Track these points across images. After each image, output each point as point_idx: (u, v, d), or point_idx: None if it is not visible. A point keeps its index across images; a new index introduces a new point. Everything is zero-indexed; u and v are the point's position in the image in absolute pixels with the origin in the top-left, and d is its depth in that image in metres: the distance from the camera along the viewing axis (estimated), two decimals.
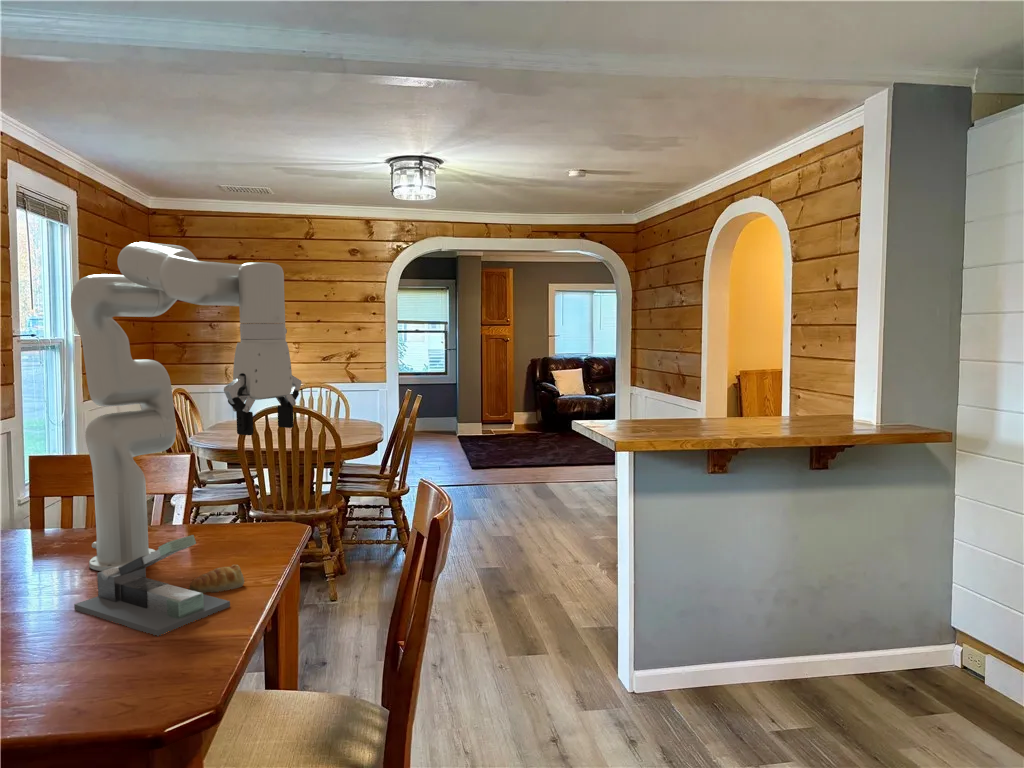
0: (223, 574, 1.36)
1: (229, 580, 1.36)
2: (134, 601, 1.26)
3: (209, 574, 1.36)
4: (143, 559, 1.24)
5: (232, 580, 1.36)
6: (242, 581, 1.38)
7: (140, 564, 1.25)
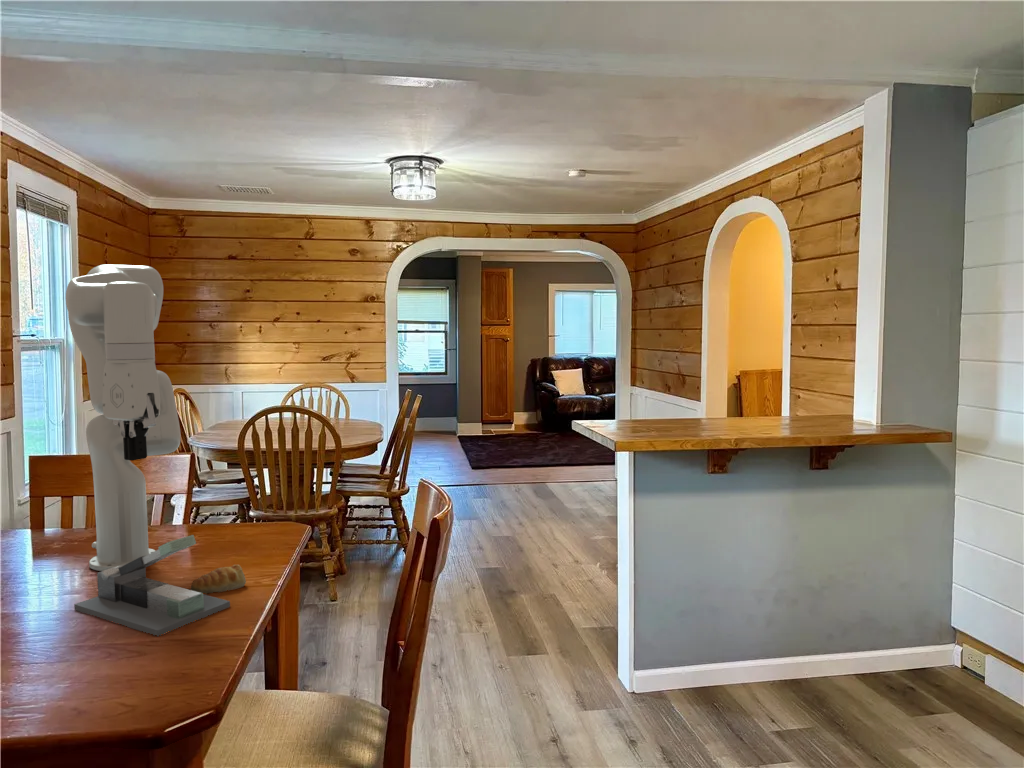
0: (225, 574, 1.36)
1: (230, 580, 1.36)
2: (134, 601, 1.26)
3: (210, 574, 1.36)
4: (143, 559, 1.24)
5: (234, 580, 1.36)
6: (244, 580, 1.38)
7: (140, 564, 1.25)
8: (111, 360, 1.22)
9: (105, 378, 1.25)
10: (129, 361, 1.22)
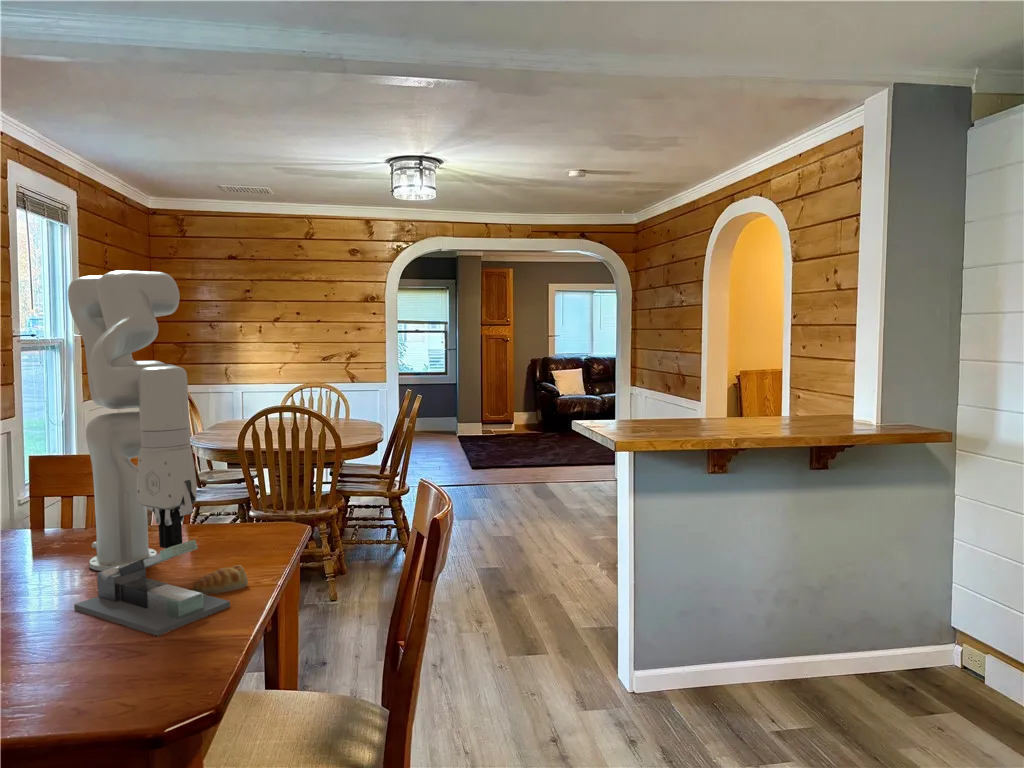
0: (227, 575, 1.36)
1: (233, 580, 1.36)
2: (134, 601, 1.26)
3: (213, 575, 1.36)
4: (144, 562, 1.24)
5: (236, 580, 1.36)
6: (246, 581, 1.37)
7: (141, 566, 1.25)
8: (147, 448, 1.19)
9: (140, 464, 1.22)
10: (166, 449, 1.19)
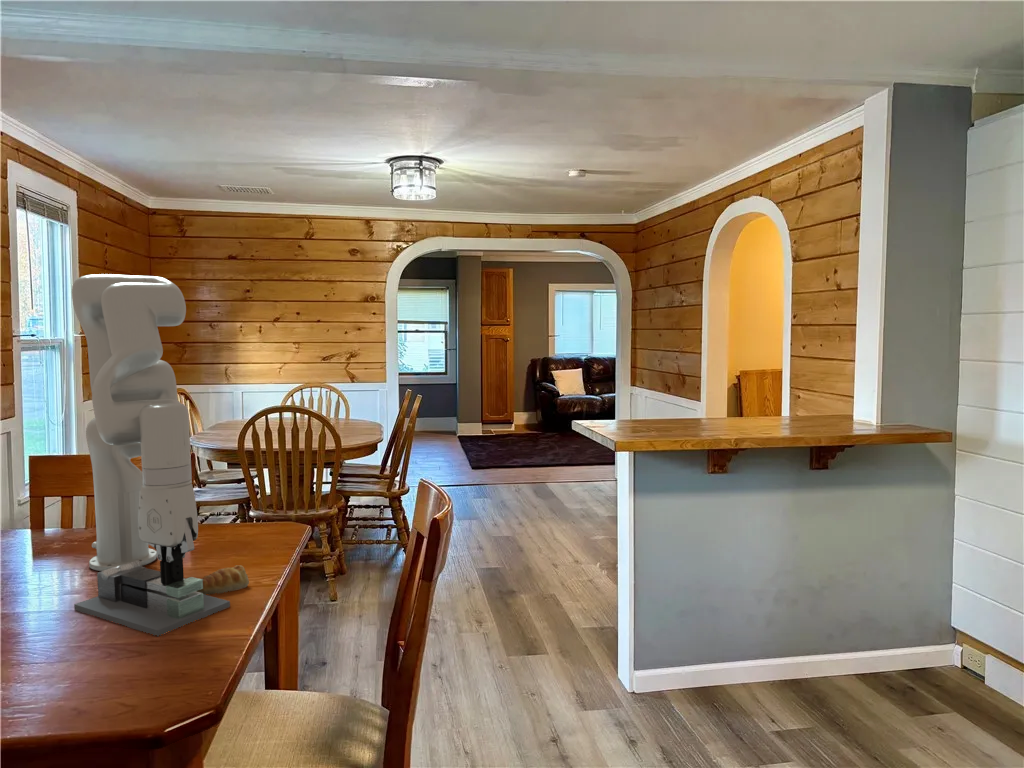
0: (228, 575, 1.36)
1: (234, 580, 1.36)
2: (134, 601, 1.26)
3: (214, 575, 1.36)
4: (147, 584, 1.24)
5: (237, 581, 1.36)
6: (247, 581, 1.37)
7: (143, 586, 1.25)
8: (149, 486, 1.19)
9: (141, 501, 1.22)
10: (167, 486, 1.19)
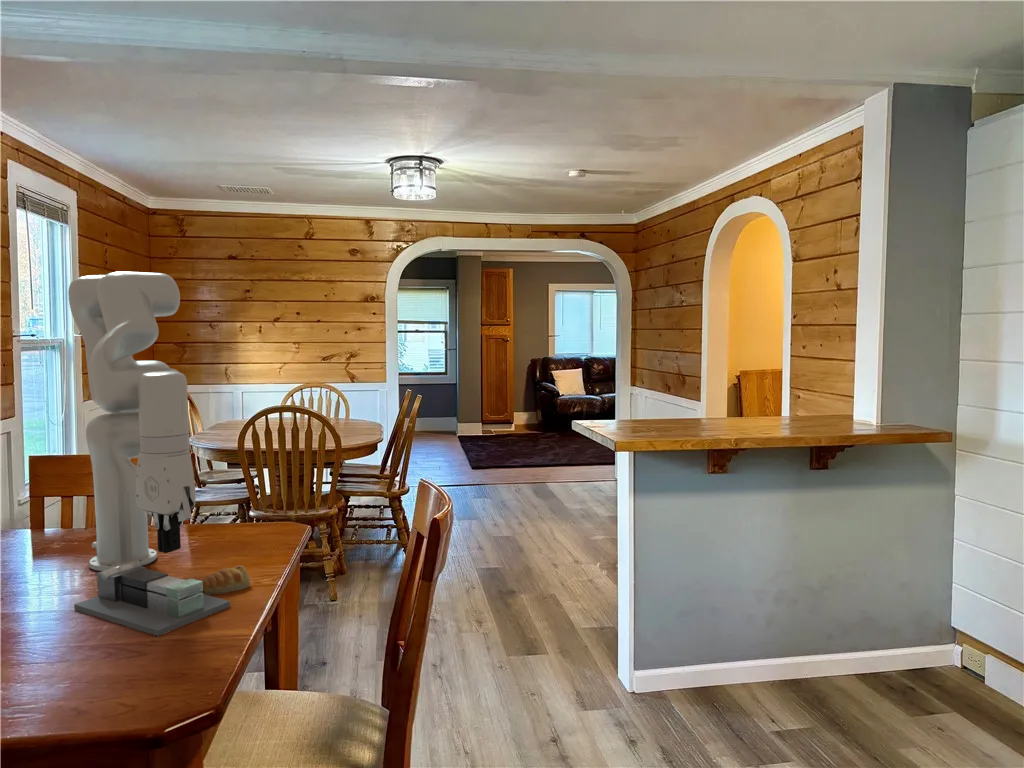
0: (230, 575, 1.36)
1: (235, 581, 1.36)
2: (134, 601, 1.26)
3: (215, 575, 1.36)
4: (147, 585, 1.24)
5: (239, 581, 1.36)
6: (249, 581, 1.37)
7: (143, 587, 1.25)
8: (146, 454, 1.19)
9: (139, 469, 1.22)
10: (165, 455, 1.19)
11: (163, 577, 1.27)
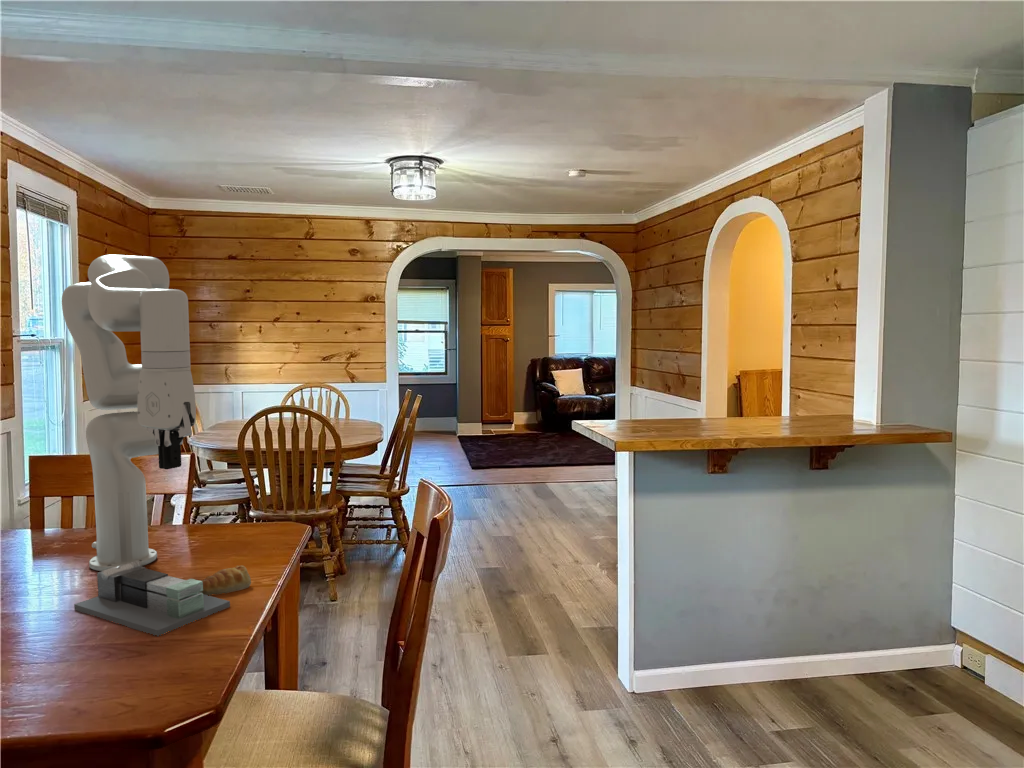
0: (231, 575, 1.36)
1: (236, 580, 1.36)
2: (134, 601, 1.26)
3: (216, 576, 1.35)
4: (147, 585, 1.24)
5: (240, 581, 1.36)
6: (250, 581, 1.37)
7: (143, 587, 1.25)
8: (147, 368, 1.20)
9: (140, 386, 1.23)
10: (166, 370, 1.20)
11: (163, 577, 1.27)
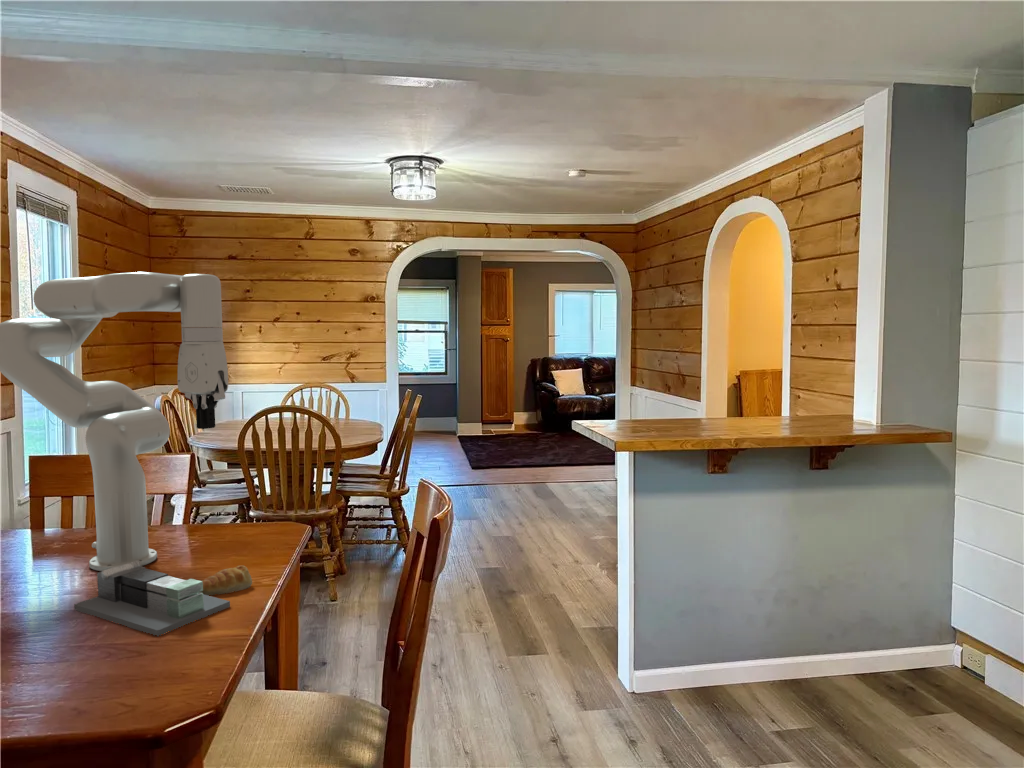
0: (232, 575, 1.35)
1: (238, 580, 1.36)
2: (134, 601, 1.26)
3: (217, 576, 1.35)
4: (147, 585, 1.24)
5: (241, 581, 1.36)
6: (251, 581, 1.37)
7: (143, 587, 1.25)
8: (187, 342, 1.41)
9: (180, 357, 1.44)
10: (203, 343, 1.41)
11: (163, 577, 1.27)
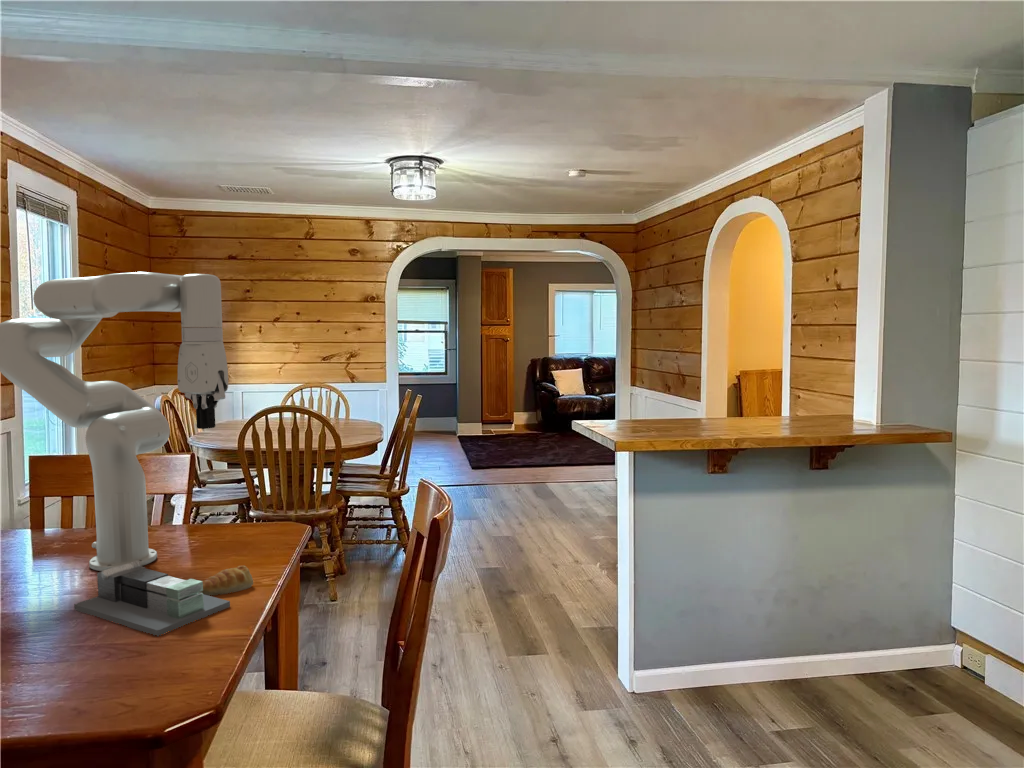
0: (233, 575, 1.35)
1: (239, 581, 1.36)
2: (134, 601, 1.26)
3: (218, 576, 1.35)
4: (147, 585, 1.24)
5: (242, 581, 1.36)
6: (252, 581, 1.37)
7: (143, 587, 1.25)
8: (187, 342, 1.41)
9: (180, 357, 1.44)
10: (203, 343, 1.41)
11: (163, 577, 1.27)
